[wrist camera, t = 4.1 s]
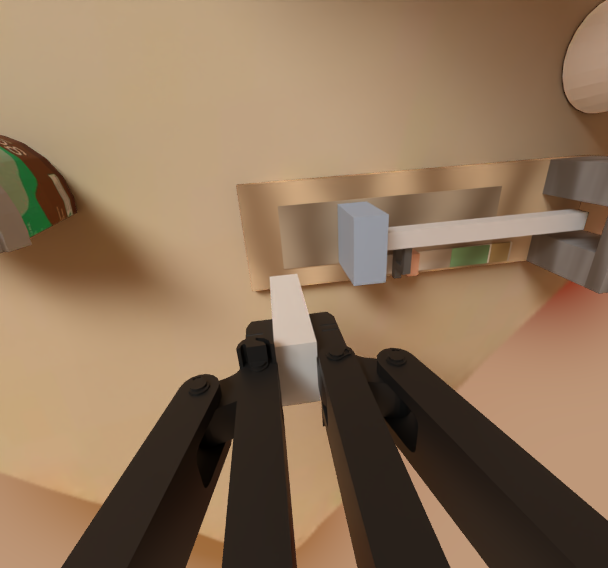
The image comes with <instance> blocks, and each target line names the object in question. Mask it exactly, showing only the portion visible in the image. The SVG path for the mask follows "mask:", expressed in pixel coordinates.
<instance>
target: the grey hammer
mask: <svg viewBox="0 0 608 568" xmlns="http://www.w3.org/2000/svg"><path fill="white" fill-rule="evenodd" d="M588 214H589V212H585V211H581V210H576V209H566V210H556V211H546V212H536V213H526V214H516V215H506V216H496V217H486V218H476V219H466V220H456V221H446V222H436V223H426V224H416V225H406V226H396V227H388V224H389V214H387V213H386V212H384V211H382V210H380V209H379V208H377V207H375V206H374V205H372V204H370V203H368V202H367V201H366V202H355V203H344V204H338V248H339V263H340V265H341V266H342V268H343V270H344V271H345V273H346V274H347V276H348V277H349V279H350V281H351V282H352V284H353V285H354V286H358V285H367V284H376V283H385V282H386V268H387V250H393V263H392V277H393V278H394V279H395V278H401V274H402V275H405V274H410V272H411V259H412V248H415V247H424V246H434V245H443V244H453V243H462V242H472V241H481V240H491V239H500V238H510V237H519V236H529V235H538V234H547V233H557V232H566V231H576V230H584V227H585V223H586V220H587V217H588Z"/></svg>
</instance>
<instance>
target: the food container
mask: <svg viewBox="0 0 608 568" xmlns="http://www.w3.org/2000/svg"><path fill="white" fill-rule="evenodd" d="M75 213H77V209H76V205H75V201H74V197H73V195H72V193H71V191H70V189H69V188H68V186H67V184H66V182H65V180H64V178H63V177H62V176H61V174H60V173H59V172H58V171H57V170H56V169H55V168H54V167H53V166H52V165H51V164H50V162H49V161H48V160H47V159H46V158H45V157H43V156H42V155H40V154H39V153H37V152H36V151H34V150H33V149H31V148H30V147H28V146H27V145H25V144H24V143H22V142H19V141H16V140H14V139H11V138H9V137H6V136H2V135H0V253H2V252H11V251H14V250H17V249H20V248H23V247H26V246H30V245H32V243H31V240H30V237H32V236H34V235H36V234H38V233H39V232H41V231H43V230H45V229H47V228H49V227H51V226H53V225H55V224H56V223H58V222H60V221H62V220H64V219H66V218H68V217H70V216H72V215H73V214H75Z"/></svg>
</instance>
